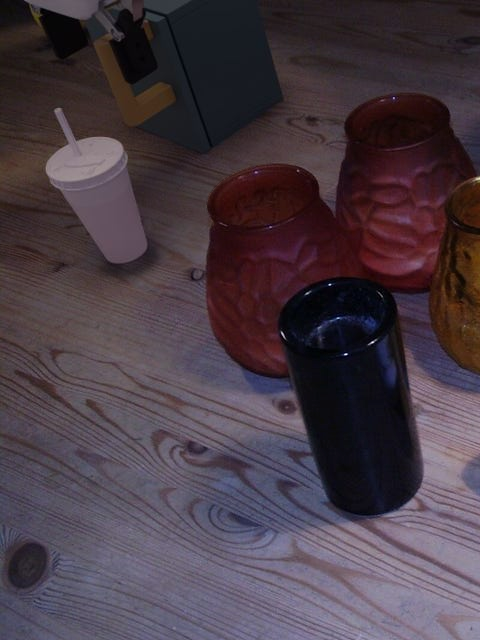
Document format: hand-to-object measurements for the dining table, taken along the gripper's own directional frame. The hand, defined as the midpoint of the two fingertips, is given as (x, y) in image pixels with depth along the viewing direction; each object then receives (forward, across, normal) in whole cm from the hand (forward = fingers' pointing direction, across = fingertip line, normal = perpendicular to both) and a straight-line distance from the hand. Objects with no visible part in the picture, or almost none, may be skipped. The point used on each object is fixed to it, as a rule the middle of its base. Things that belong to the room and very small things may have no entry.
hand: (107, 63), depth 87 cm
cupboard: (+12, -4, +11) cm, 17 cm away
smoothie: (+12, +7, -9) cm, 16 cm away
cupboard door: (+12, -4, +3) cm, 13 cm away
